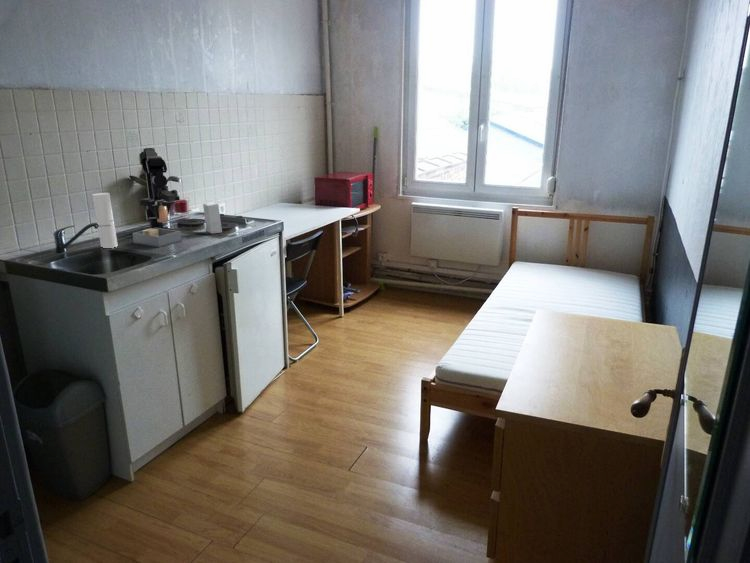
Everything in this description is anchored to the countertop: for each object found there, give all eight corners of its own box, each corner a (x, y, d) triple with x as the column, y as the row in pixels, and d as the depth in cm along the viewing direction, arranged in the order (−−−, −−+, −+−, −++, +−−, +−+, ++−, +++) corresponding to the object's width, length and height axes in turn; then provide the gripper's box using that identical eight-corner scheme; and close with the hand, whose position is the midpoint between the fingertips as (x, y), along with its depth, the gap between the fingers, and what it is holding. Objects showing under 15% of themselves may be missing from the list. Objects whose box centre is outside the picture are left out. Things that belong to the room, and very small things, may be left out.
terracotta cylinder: (155, 221, 267) (153, 207, 265) (163, 219, 271) (161, 205, 269) (162, 222, 265) (160, 207, 263) (171, 220, 269) (169, 206, 267)
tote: (133, 243, 272) (132, 233, 270) (156, 237, 283) (155, 227, 281) (158, 247, 263) (157, 237, 262) (181, 241, 275) (180, 231, 273)
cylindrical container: (121, 245, 268) (112, 193, 260) (109, 249, 261) (101, 195, 253) (109, 244, 270) (100, 192, 262) (97, 248, 263) (88, 194, 256)
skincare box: (222, 232, 291) (219, 204, 287) (210, 234, 288) (207, 205, 284) (216, 229, 298) (214, 201, 294) (205, 231, 295) (202, 202, 290)
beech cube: (143, 240, 274) (142, 230, 273) (152, 238, 278) (151, 228, 277) (150, 241, 272) (149, 231, 270) (159, 239, 276) (157, 229, 274)
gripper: (153, 188, 252) (158, 223, 256) (185, 183, 267) (189, 215, 272) (136, 187, 257) (141, 221, 261) (169, 182, 272) (173, 214, 277)
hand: (162, 217), depth 268 cm, fingers closed on terracotta cylinder, 5 cm apart
